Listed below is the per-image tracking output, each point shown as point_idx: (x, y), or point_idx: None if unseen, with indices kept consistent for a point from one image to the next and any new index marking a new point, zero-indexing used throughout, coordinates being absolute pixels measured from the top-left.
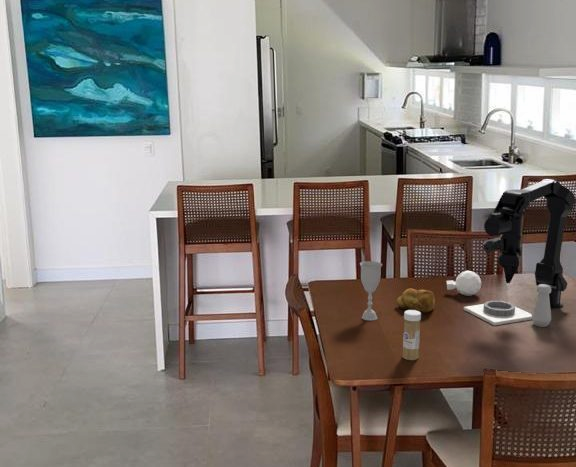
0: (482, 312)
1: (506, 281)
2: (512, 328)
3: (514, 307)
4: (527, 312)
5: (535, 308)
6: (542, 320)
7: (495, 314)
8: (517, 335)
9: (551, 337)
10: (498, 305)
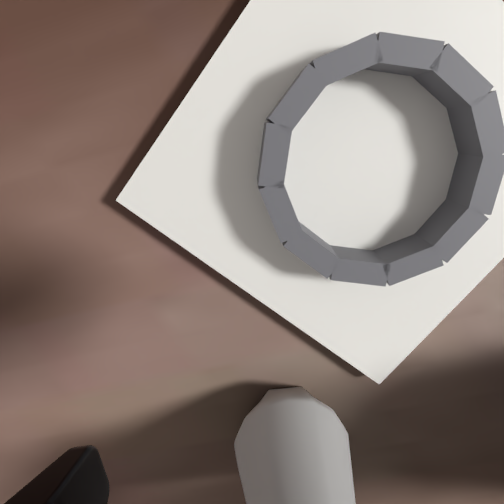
0: (282, 57)
1: (48, 475)
2: (138, 304)
3: (384, 282)
4: (426, 334)
5: (267, 470)
6: (237, 463)
7: (258, 169)
8: (42, 352)
9: (125, 488)
10: (463, 139)
